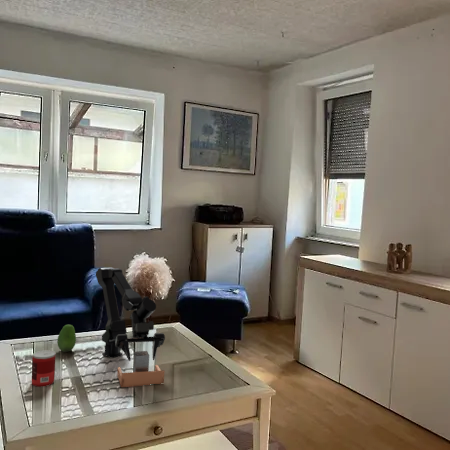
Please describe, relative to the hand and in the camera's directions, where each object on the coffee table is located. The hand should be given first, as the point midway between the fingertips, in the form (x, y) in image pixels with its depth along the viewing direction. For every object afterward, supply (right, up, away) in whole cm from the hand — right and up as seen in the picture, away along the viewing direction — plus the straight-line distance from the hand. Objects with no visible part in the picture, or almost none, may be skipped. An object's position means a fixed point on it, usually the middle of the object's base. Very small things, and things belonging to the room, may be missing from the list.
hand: (141, 360), depth 179 cm
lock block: (-1, -7, +1) cm, 8 cm away
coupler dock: (-1, -8, +2) cm, 8 cm away
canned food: (-35, -6, -7) cm, 36 cm away
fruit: (-38, -4, +27) cm, 47 cm away
